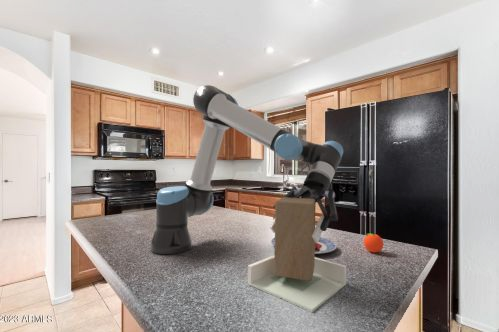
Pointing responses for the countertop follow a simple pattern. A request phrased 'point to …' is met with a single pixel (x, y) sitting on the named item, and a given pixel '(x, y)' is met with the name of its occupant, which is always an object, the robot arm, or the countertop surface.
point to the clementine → (373, 243)
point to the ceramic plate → (320, 245)
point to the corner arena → (299, 282)
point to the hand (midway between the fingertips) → (292, 234)
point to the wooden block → (294, 238)
